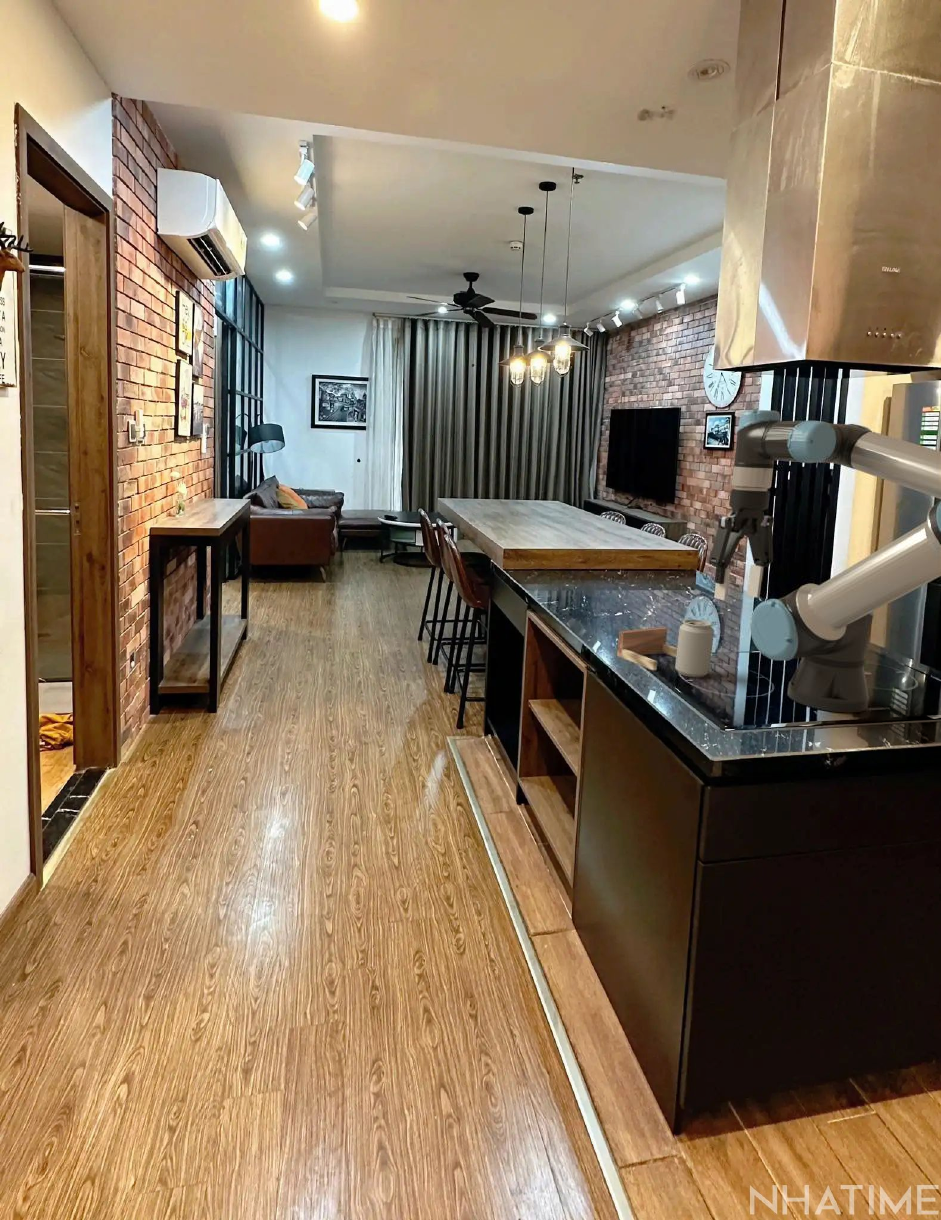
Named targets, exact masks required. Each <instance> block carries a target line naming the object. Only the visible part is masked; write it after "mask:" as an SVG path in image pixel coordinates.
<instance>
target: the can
mask: <svg viewBox="0 0 941 1220" xmlns="http://www.w3.org/2000/svg"><path fill="white" fill-rule="evenodd" d="M712 626H713V624H712V623H711V622H710V621H707V620H704V619H703V620H702V619H695V618H694V619H692V618H690V619H684V620H683V621H682V624H681V625H680V626H679V629H678V638H677V639H678V640H677V647H676V648H677V656H676V657H675V666H674V668H675V670H676V671H677V673H678V674H680V675H682V676H684V677H690V678H702V677H703V678H704V677H705V676H706V675H708V674H710V668H711V661H712V660H711V659H712V654H713V653H712V652H713V645H714V644H713V643H714V636H715V635H714V634H715V630H714V628H713V627H712Z"/></svg>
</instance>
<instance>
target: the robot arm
mask: <svg viewBox="0 0 941 1220" xmlns="http://www.w3.org/2000/svg"><path fill="white" fill-rule="evenodd" d="M780 416H781V415H780V412H779V411H777V410H768V409H767V410H766V409H764V410H763V409H762V410H761V409H759V410H758V409H757V410H756V409H747V410H743V411H742V413H741V414H740V417H739V422H738V427H737V430H736V444H735V452H734V453H735V455H734V463H733V472H732V480H731V486H732V487H734V488H732V489H731V490H730V493H729V503H728V505H729V506H728V507H730V508H731V512H730V515H729V516H725V515H723V516H722V515H720V516H719V517H718V520H717V521H718V522H717V524H718V525H717V526H718V527H717V531H716V533H715V534H716V535H715V538H714V542H713V545H712V549H711V551H710V556H709V559H708V564H709V565H712V567H715V575H714V582H715V587H714V588H715V589H714V596H713V598H714V599H718V600H721V601H727V600H728V593H729V585H730V575H731V568H729V565H730V564H731V561H732V558H733V557H734V554H735V552H736V550H737V548H738V546H739V544H740V542H741V540H743V539H744V537H745V536H746V537H747V538H748V544H749V548H750V552H751V556H752V560H753V564H750V566H749V567H750V568H749V573H748V574H749V575H748V583H747V589H746V590H747V591H746V596H749V597H754V598H760V595H761V588H762V582H763V579H764V574H765V573H764V572H765V568H768V567H770V565H771V563H773V562H774V545H773V544H774V542H773V538H774V537H773V535H774V534H773V527H774V521H775V517H774V516H770V515H765V514H764V511H765V510H767V509H768V508H769V504H770V503H769V502H770V494H771V493H770V492H769V490H768V489H770V488H771V487H772V482H773V481H772V480H773V471H774V464H775V461H781V462H782V461H783V462H794V463H795V462H796V463H797V462H798V463H802V464H814V463H823V464H836V465H841V466H843V467H846V468H849V469H852V470H856V471H860V472H862V473H865V474H868V475H871V476H873V477H877V478H879V479H883V480H885V481H888V482H891V483H893V484H897V485H899V486H901V487H905V488H908V489H911V490H913V491H917V492H920V493H922V494H925V495H928V496H930V497H931V496H932V497H934V498H937V499H939V500H941V451H940V450H938V449H934V448H931V447H927V446H923V445H920V444H917V443H913V442H910V441H906V440H903V439H901V438H900V439H899V438H896V437H892V436H889V435H885V434H882V433H878V432H875V431H872V430H871V428H869V427H867V426H864V425H859V424H856V423H848V424H847V423H846V424H845V423H844V424H843V423H830V422H826V421H820V420H812V419H811V420H808V419H807V420H792V421H791V420H787V421H786V420H785V421H783V420H780ZM940 577H941V501H939V502H937V503H936V504H934V505H933V506H931V507H930V508H929V509H928V512H927V516H926V521H925V522H923V523H921V524H919V525H918V526H916V527H915V528H912V530H910V531H908V532H906V533H905V534H903V535H901V536H900V537H897V539H895V540H893V541H891V542H889V543H887V544H885V546H883V547H881V548H880V549H878V550H876V551H875V552H873V553H871V554H869V555H868V556H867V557H865V558H862V559H860V560H859V561H858V562H856V563H854V564H853V565H852V566H849V567H848V568H846V569H844V570H843V571H841V572H840V573H838V574H836V575H834V576H833V577H831V578H829V579H828V580H826V581H824V582H822V583H821V584H815V583H807V584H804V585H801V586H800V587H799V588H797V589H796V590H793V591H792V592H791V593H789V594H787V595H786V596H783V597H780V598H778V599H777V598H770V599H767V600H764V601H762V602H760V603H759V604H758V605H757V606H756V607H755V608H754V610H753V612H752V614H751V617H750V619H751V622H750V626H749V627H750V629H749V631H750V635H751V638H752V641H753V644H754V645H755V647H756V649H757V650H758V651H759V652H760V653H761V654H762V655H763V656H764V657H766V658H768V659H770V660H772V661H785V662H786V661H790V660H795V659H800V658H801V660H800V662H799V664H798V666H797V668H796V670H795V672H794V674H793V675H792V678H791V680H790V681H789V682H788V687H787V696H788V698H790V700H793V701H794V702H796V703H798V704H801V705H804V706H806V707H809V708H813V709H816V710H817V709H818V710H821V711H822V710H823V711H828V712H834V713H860V712H863V711H865V710H867V709H868V705H869V701H870V700H869V699H870V695H869V692H868V691H869V690H868V685H867V680H866V679H867V678H866V674H865V663H866V659H867V652H868V646H869V640H870V634H871V630H872V629H871V628H872V624H873V619H874V616H875V615H874V611H877V610H879V609H880V608H883V607H884V606H886V605H888V604H890V603H892V602H894V601H895V600H897V599H900V598H901V597H904V596H905V595H907V594H910V593H911V592H912V591H914V590H916V589H918V588H920V587H922V586H924V585H926V584H928V583H930V582H932V581H934V580H935V579H937V578H940Z"/></svg>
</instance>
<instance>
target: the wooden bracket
mask: <svg viewBox="0 0 941 1220" xmlns="http://www.w3.org/2000/svg"><path fill="white" fill-rule="evenodd" d="M667 636H668V628H667V627H664V626H660V627H652V628H651V627H650V628H642V629H641V628H640V629H632V630H622V631H619V632H618V643H617V651H616V652H617V653H616V657H619V658H621V659H624V660H627V661H629V662H632V663H635V665H639V666H642V667H644V668H646V669H649V670H651V671H657V669H658V668H657V667H658V661H657V660H654V659H652V658H649V657H647V656H645V655H650V654H651V655H652V654H659V653H663V654H666V655H668V656H671V657H674V658H676V656H677V647H675V646H672V645H670V644H667Z"/></svg>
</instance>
